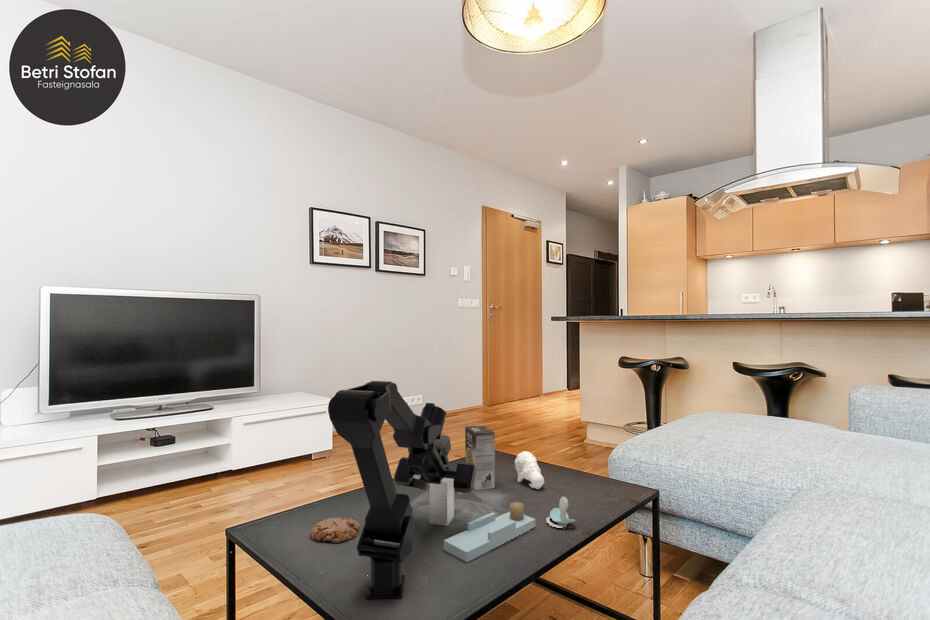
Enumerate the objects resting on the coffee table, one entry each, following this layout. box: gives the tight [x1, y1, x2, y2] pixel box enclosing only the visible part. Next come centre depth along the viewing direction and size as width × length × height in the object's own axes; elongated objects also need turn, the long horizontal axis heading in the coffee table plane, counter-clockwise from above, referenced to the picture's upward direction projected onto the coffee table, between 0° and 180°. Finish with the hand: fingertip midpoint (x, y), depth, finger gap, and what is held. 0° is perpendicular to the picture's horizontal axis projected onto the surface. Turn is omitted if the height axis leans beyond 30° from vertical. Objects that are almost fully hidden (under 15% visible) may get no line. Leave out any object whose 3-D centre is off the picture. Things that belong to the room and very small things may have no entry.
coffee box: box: [464, 425, 496, 491], centre depth 136 cm, size 9×6×16 cm
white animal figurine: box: [514, 450, 545, 490], centre depth 136 cm, size 6×8×12 cm
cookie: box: [310, 517, 361, 543], centre depth 105 cm, size 10×11×3 cm
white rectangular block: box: [429, 478, 455, 527], centre depth 112 cm, size 6×4×10 cm
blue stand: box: [443, 501, 536, 563], centre depth 102 cm, size 22×7×5 cm, turn 134°
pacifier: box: [545, 496, 576, 529], centre depth 110 cm, size 7×6×6 cm
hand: (443, 490), depth 113 cm, fingers open, 9 cm apart
